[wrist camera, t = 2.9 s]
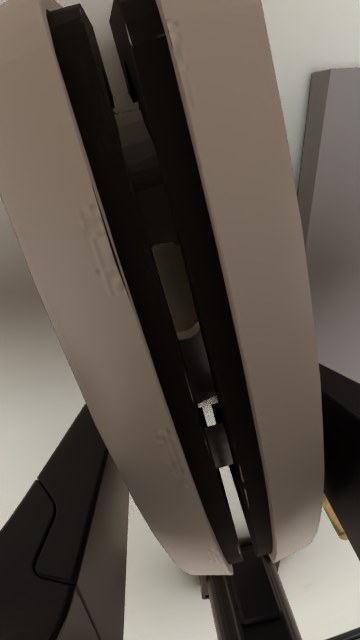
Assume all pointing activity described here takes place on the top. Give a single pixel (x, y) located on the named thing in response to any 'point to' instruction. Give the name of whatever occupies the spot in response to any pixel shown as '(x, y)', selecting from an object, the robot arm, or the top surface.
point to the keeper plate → (333, 222)
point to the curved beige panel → (198, 255)
